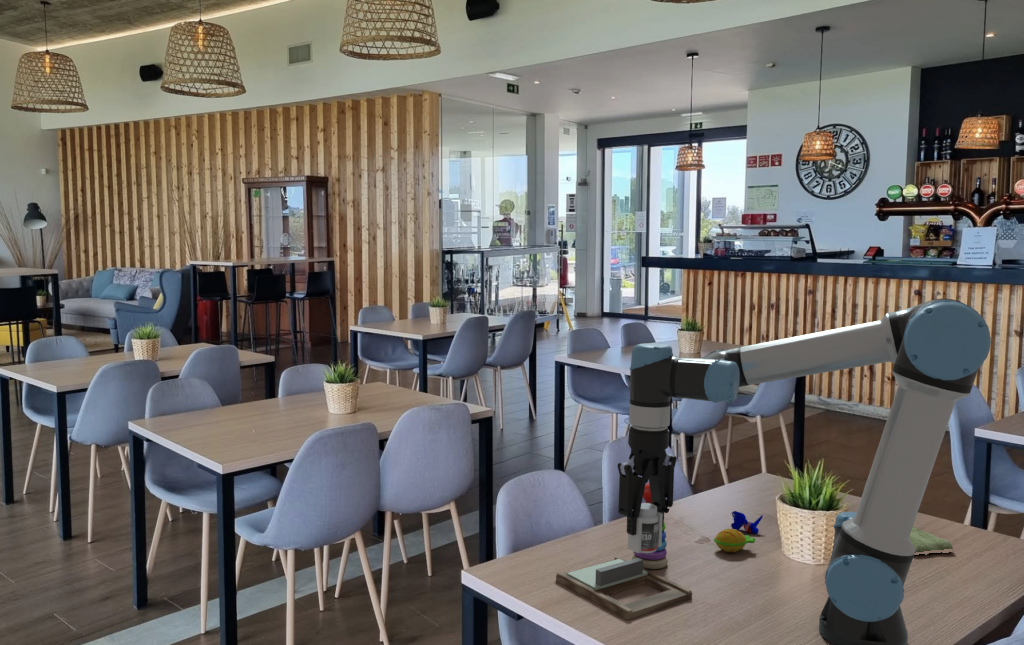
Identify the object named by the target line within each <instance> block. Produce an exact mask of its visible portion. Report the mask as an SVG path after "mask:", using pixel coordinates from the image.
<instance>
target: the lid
mask: <svg viewBox="0 0 1024 645" xmlns="http://www.w3.org/2000/svg"><path fill="white" fill-rule="evenodd" d="M612 560H613V561H610V560H608V561H609V562H607V561H604V562H605V563H603V562H601V563H602V564H599V563H597V564H598V565H596V564H593V565H594V566H592V565H590V566H591V567H588V566H586V567H587V568H585V567H583V568H584V569H581V568H579V569H580V570H577V569H575V570H576V571H574V570H572V571H573V572H570V571H568V572H569V573H567V576H569V577H571V578H573V579H575V580H577V581H579V582H581V583H583V584H584V585H586V586H588V587H590V588H592V589H594V590H599V589H602V588H605V587H609V586H612V585H616V584H619V583H622V582H626V581H629V580H632V579H636V578H639V577H642V576H646V575H648V572H646V571H644V570H643V560H642V559H640V558H635V559H628V560H627V561H623V560H621V559H616V560H614V559H612Z"/></svg>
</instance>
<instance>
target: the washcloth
mask: <svg viewBox="0 0 1024 645" xmlns="http://www.w3.org/2000/svg"><path fill="white" fill-rule="evenodd" d="M909 539H910V540H911V542H912V544H913V546H914V548H915V553H916V552H924V551H931V550H944V549H953V550H954V548H953V544H952V543H951V542H950V541H949V540H948V539H945V538H940V537H938V536H937V535H935V534H933V533H929V532H927V531H925V530H922V529H919V528H917V527H916V526H913V527H912V530H911V533H910V536H909Z"/></svg>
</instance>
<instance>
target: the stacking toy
mask: <svg viewBox="0 0 1024 645" xmlns="http://www.w3.org/2000/svg"><path fill="white" fill-rule="evenodd" d="M643 500H644V503H650V504H652V498H651V491H650V485H649V482H647V483H646V484H645V489H644V494H643ZM665 530H666V524H665V522H664V525H663V527H662V544H661V547H657V550H656V551H655V552H653V553H636V552H634V551H632V552H633V554H632V557H631V558H632V559H635V558H640V559H642V560H643V568H644V569H646V570H658V569H663V568H665V567H666V566H667V565H668V562H669V559H668V556H667V554H668V551H667V546H668V545H667V544H668V543H667V540H666V538H667V533H666V531H665Z"/></svg>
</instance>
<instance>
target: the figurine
mask: <svg viewBox="0 0 1024 645" xmlns="http://www.w3.org/2000/svg"><path fill="white" fill-rule="evenodd" d="M731 516H732V518H733V519H732V520H733V522H731V523H730V527H731V529H736V530H737V531H739V530H740V529H741V528H742V527H743V529H744V530H745V532H746V533H748V534H751V533H752V534H755V533H756V534H755V535H758V534H759V533H760V531H759V530H760V529H759V528H758V527H757V526H758V525H759V523H760V522H761V521H762V519H763V517H764V514H762V515H761V516H759V517H758V518H757V519H756V520H755V521H754V522H751V521H748V519H747V517H746V515H745V513H742V512H738V511H737V510H734V511H732V512H731Z"/></svg>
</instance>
